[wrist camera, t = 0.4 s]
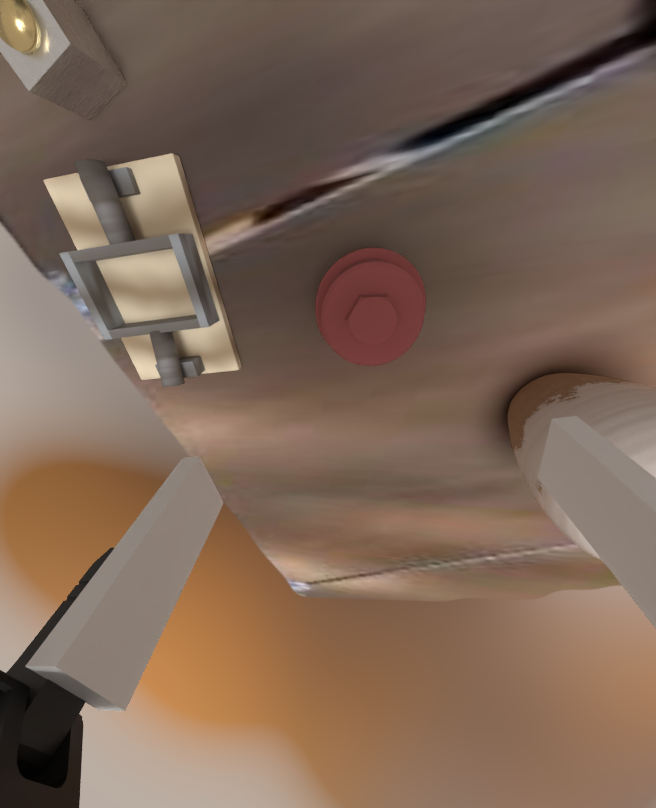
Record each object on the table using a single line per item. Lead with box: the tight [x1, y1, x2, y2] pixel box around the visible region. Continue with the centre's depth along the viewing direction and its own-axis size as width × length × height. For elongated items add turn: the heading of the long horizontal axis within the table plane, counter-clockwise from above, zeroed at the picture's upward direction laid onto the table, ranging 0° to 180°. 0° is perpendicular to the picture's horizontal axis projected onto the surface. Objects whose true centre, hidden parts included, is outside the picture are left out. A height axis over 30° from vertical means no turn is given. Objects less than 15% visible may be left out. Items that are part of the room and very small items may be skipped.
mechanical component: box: [315, 248, 426, 366], centre depth 28 cm, size 12×10×10 cm
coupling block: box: [0, 0, 127, 120], centre depth 22 cm, size 5×5×7 cm
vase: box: [508, 373, 656, 560], centre depth 29 cm, size 16×16×23 cm
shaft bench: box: [43, 153, 242, 387], centre depth 31 cm, size 22×14×6 cm, turn 8°
